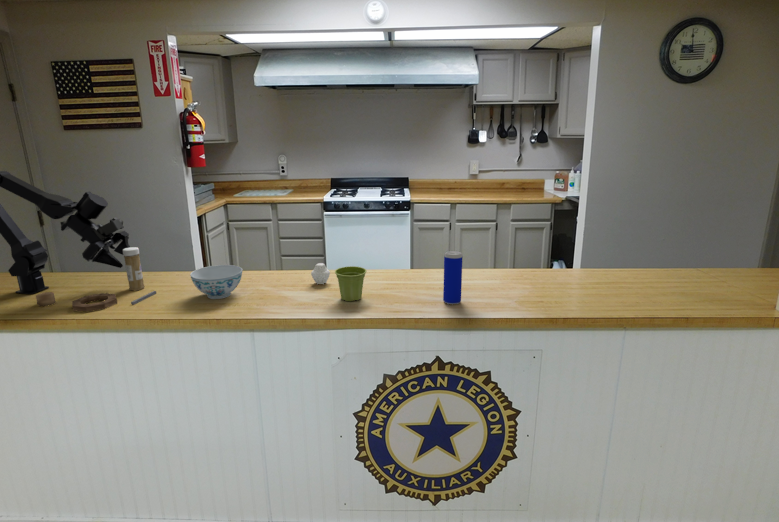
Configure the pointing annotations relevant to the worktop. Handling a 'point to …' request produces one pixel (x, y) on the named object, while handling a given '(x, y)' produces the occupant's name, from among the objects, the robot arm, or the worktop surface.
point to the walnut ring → (81, 306)
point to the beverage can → (452, 277)
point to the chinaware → (217, 280)
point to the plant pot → (350, 282)
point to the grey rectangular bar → (143, 297)
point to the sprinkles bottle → (133, 268)
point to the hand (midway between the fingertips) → (129, 262)
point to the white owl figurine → (320, 273)
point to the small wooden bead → (45, 299)
